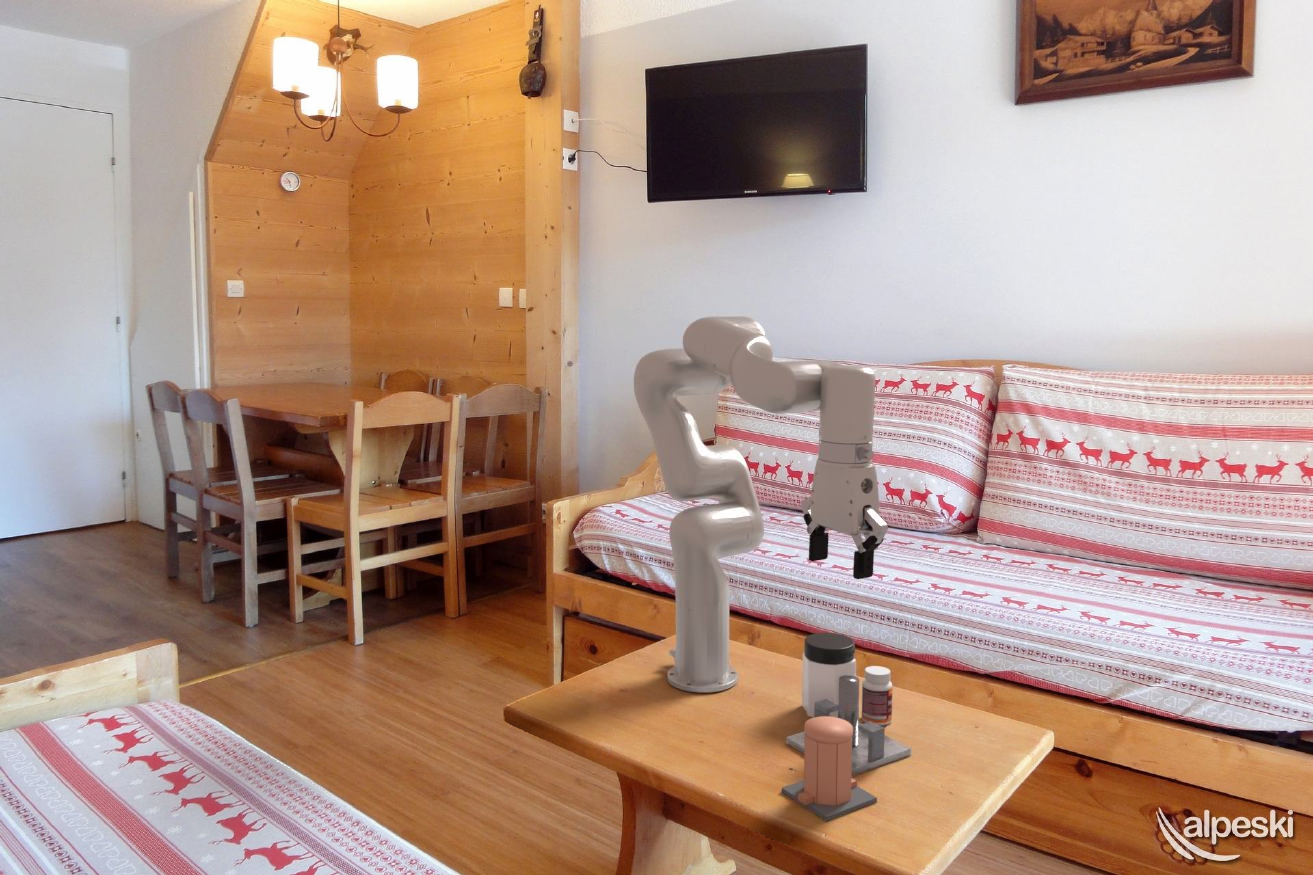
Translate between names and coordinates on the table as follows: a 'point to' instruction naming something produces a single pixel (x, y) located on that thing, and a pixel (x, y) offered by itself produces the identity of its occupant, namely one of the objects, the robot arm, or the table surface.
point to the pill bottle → (877, 696)
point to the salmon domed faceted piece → (827, 761)
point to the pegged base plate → (856, 730)
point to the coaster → (830, 811)
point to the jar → (825, 668)
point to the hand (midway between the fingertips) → (839, 568)
